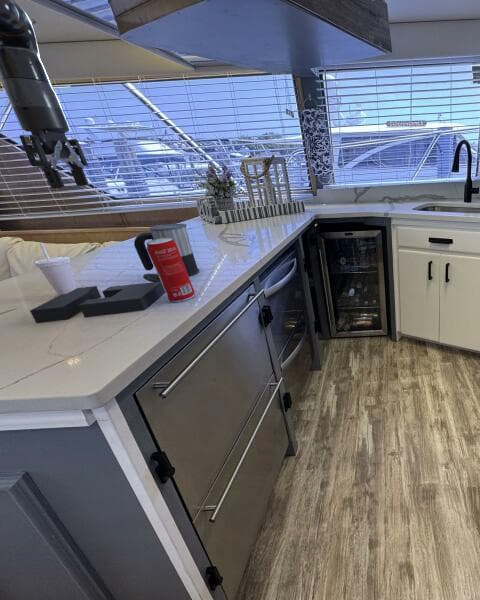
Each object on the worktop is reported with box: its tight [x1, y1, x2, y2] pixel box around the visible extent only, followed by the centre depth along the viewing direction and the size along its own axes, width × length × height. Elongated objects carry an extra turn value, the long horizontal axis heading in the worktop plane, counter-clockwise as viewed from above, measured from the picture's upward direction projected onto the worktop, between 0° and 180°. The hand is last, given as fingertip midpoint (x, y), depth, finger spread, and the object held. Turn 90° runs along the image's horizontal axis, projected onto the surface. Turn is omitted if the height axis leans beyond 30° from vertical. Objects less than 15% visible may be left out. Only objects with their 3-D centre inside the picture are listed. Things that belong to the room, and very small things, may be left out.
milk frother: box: [133, 223, 200, 283], centre depth 93 cm, size 14×16×15 cm
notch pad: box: [79, 281, 166, 318], centre depth 78 cm, size 12×12×3 cm
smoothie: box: [34, 243, 78, 297], centre depth 83 cm, size 6×6×14 cm
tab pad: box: [29, 285, 102, 324], centre depth 76 cm, size 14×6×3 cm, turn 14°
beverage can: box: [146, 238, 196, 303], centre depth 77 cm, size 6×6×15 cm
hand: (71, 186), depth 75 cm, fingers open, 8 cm apart
